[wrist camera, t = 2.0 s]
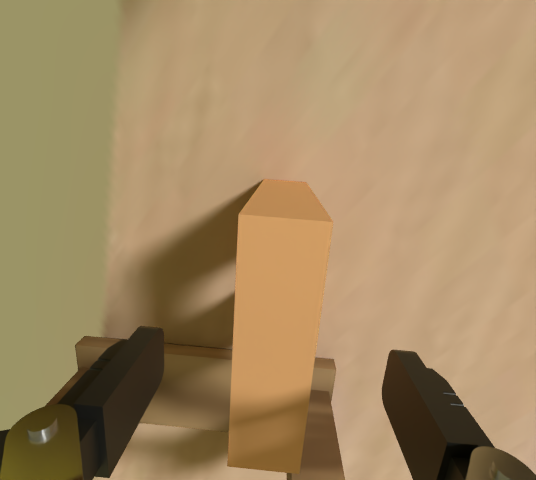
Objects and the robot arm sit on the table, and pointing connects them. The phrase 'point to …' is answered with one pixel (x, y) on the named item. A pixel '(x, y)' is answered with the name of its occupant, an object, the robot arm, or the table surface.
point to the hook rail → (224, 399)
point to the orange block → (276, 323)
